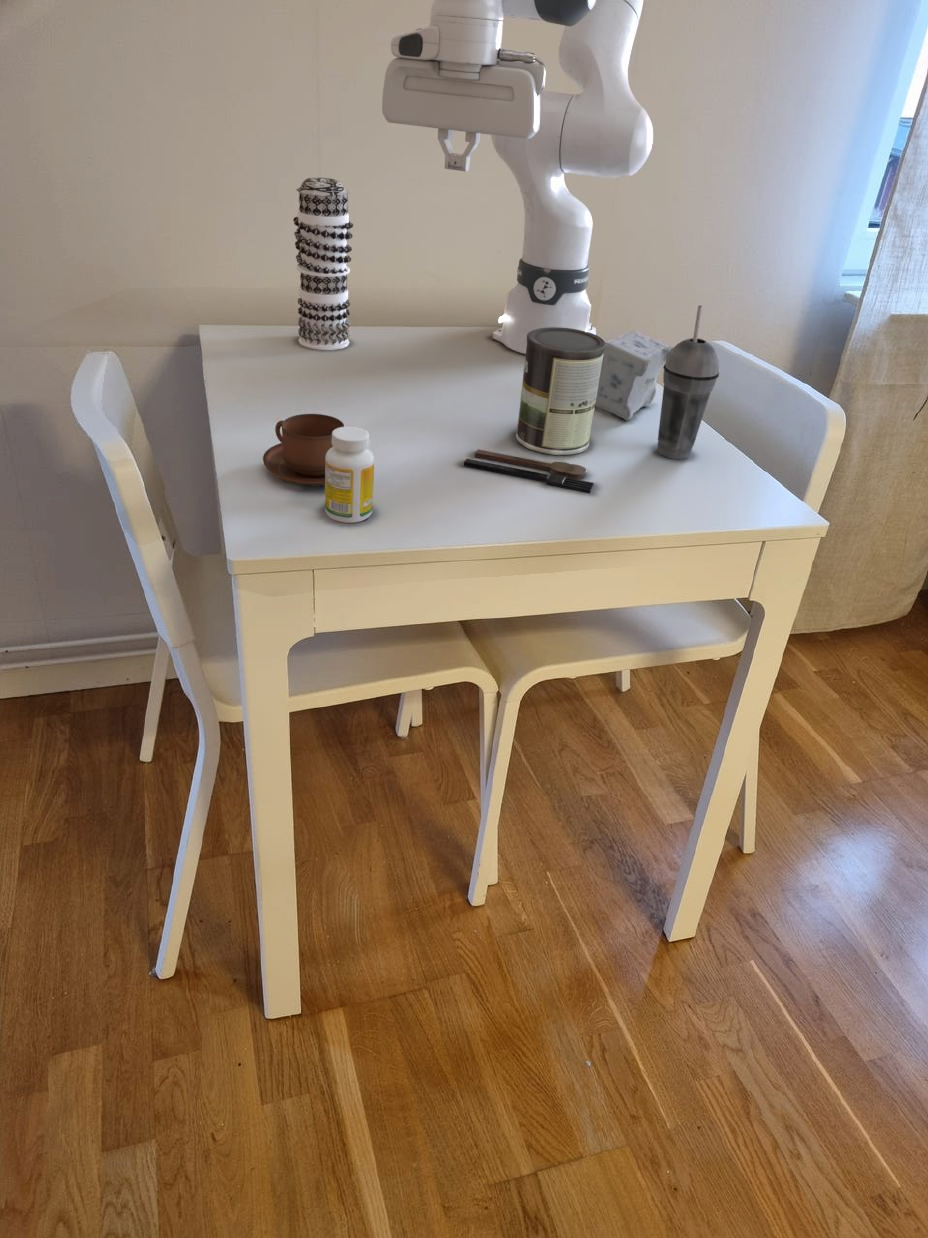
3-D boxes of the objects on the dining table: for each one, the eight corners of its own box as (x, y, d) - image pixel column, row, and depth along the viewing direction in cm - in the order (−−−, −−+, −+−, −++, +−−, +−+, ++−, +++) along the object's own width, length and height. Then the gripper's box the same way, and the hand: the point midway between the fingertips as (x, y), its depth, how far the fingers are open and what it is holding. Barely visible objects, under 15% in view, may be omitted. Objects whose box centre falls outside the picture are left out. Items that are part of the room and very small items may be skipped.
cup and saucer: (246, 483, 110) (243, 433, 107) (288, 446, 120) (287, 400, 116) (341, 502, 108) (341, 452, 104) (376, 463, 118) (378, 416, 114)
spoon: (479, 450, 123) (479, 445, 123) (588, 471, 120) (588, 466, 120) (472, 459, 121) (473, 454, 120) (583, 481, 118) (584, 476, 118)
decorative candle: (339, 354, 152) (339, 187, 138) (287, 345, 154) (282, 180, 140) (359, 339, 160) (362, 180, 146) (309, 330, 161) (307, 172, 148)
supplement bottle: (332, 526, 103) (332, 444, 97) (319, 505, 107) (319, 425, 101) (379, 521, 105) (381, 440, 99) (364, 500, 109) (366, 422, 103)
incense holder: (634, 424, 136) (647, 353, 130) (584, 409, 140) (595, 339, 134) (662, 407, 143) (676, 339, 137) (614, 393, 147) (625, 326, 141)
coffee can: (504, 445, 126) (515, 340, 118) (529, 421, 134) (541, 322, 126) (577, 461, 123) (594, 356, 115) (598, 436, 131) (615, 336, 123)
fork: (467, 460, 120) (467, 456, 120) (593, 485, 117) (594, 481, 117) (461, 467, 118) (462, 463, 118) (589, 493, 115) (590, 488, 115)
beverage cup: (710, 455, 128) (745, 307, 118) (681, 467, 124) (714, 315, 113) (666, 437, 132) (696, 293, 122) (636, 449, 128) (665, 301, 117)
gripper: (553, 53, 114) (539, 176, 122) (396, 37, 119) (393, 157, 126) (541, 54, 109) (528, 182, 117) (378, 37, 113) (376, 162, 121)
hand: (456, 169), depth 121 cm, fingers closed
